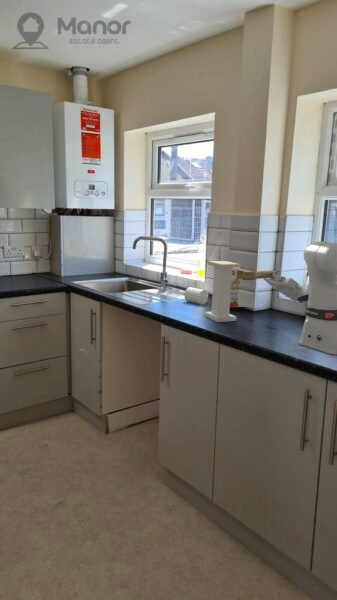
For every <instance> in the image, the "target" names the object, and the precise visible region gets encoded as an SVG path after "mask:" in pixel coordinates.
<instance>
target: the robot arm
mask: <svg viewBox="0 0 337 600" xmlns="http://www.w3.org/2000/svg"><path fill="white" fill-rule="evenodd" d="M303 260H304V261H305V263H306V267H307V272H306V276H305V281H304V284H303V285H300V283H299V282H297V281H296V280H295V279H293V278H292V277H287V276H283V275H280V274H278V275H277V274H276V273H272V274H271V276H272V277H274V278H262V279H263V280H264V282H266V283H267V284H268V285H270V286H271V287H272V289H274V291H277V292H279V294H282V295H283V296H285V297H286V298H288V299H290V301H292V300H294V301H299V302H300V303H308V305H307V306H306V307H305V315H306V316H305V320H304V323H303V327H302V332H301V335H300V338H299V340H298V345H300V346H303V347H307V348H310V349H312V350H317V351H320V352H322V353H327V354H330V355H335V356H336V355H337V243H335V242H329V241H320V240H319V241H315V242H312V243H310V244H308V245H307V246H306V247H305V249H304V252H303Z"/></svg>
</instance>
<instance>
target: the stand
mask: <svg viewBox="0 0 337 600" xmlns="http://www.w3.org/2000/svg"><path fill="white" fill-rule="evenodd" d="M207 265H209V266H212V267H213V281H212V282H213V283H212V294H211V295H212V297H211V311H204V313H203V317H205V318H207V319H210V320H211V321H214V322H216V323H221V322H234V321H235V322H236V321H237V316H236V315H234V314H232V313H230V309H231V307H230V296H231V283H232V269H233V268H240V267H241V264H240V263H237V262H233V261H227V260H208V261H207Z"/></svg>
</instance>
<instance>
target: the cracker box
mask: <svg viewBox="0 0 337 600" xmlns="http://www.w3.org/2000/svg"><path fill="white" fill-rule="evenodd" d="M239 269H241V268H233V269H232V283H231V296H230V308H238V307H237V306H238V293H239V285H240V282H241V279H238V278H236V272H237V270H239Z"/></svg>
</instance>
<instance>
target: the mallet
mask: <svg viewBox="0 0 337 600" xmlns="http://www.w3.org/2000/svg"><path fill="white" fill-rule="evenodd" d="M272 273H276V274H277V275H279V271H278V270H273V269H271V270H260V271H258V270H257V271H255V270H247V269H239V270H237V272H236V278H238V279H242V280H245V281H247V280H249V281H255V280H258V279H263V278H274V277H272V276H271V274H272Z"/></svg>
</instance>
